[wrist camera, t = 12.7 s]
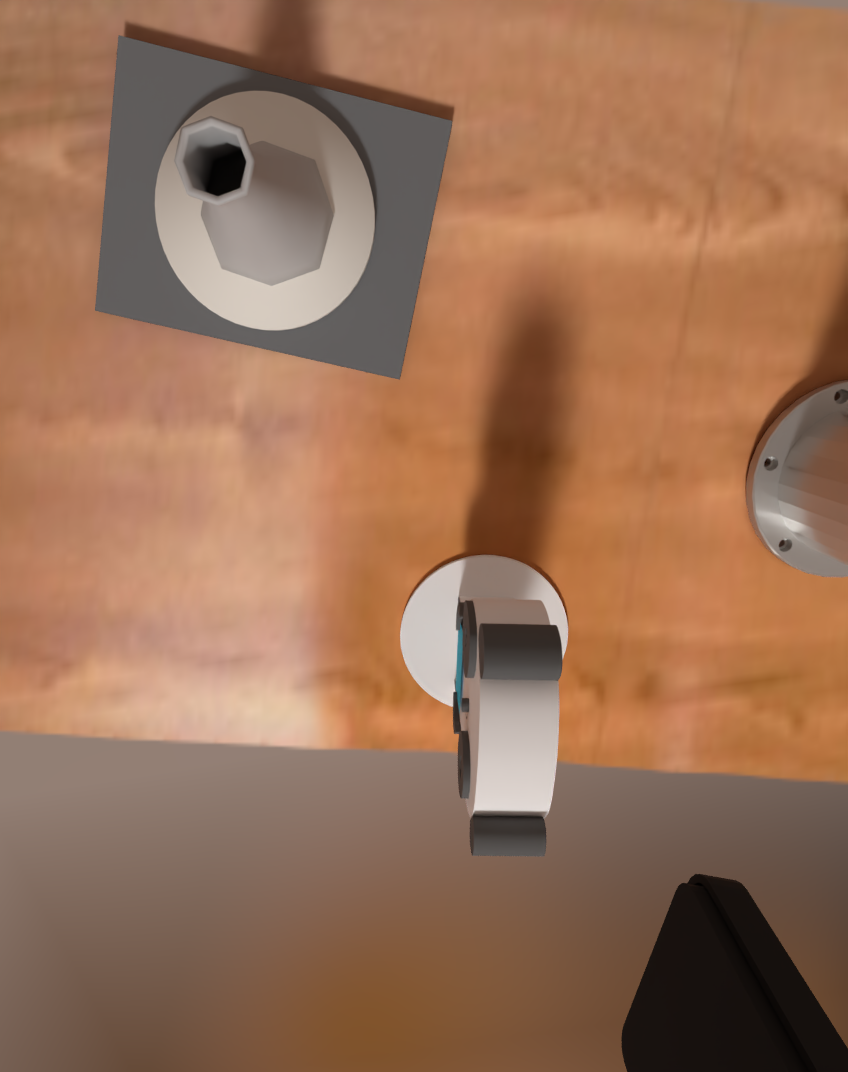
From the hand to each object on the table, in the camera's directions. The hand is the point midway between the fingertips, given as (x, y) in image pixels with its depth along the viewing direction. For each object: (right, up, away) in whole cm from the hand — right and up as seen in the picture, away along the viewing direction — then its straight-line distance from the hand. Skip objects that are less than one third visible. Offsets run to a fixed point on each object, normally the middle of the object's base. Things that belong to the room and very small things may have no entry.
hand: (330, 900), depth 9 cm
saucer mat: (-7, +23, +28) cm, 37 cm away
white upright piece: (+5, -1, +35) cm, 36 cm away
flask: (-7, +22, +27) cm, 36 cm away
